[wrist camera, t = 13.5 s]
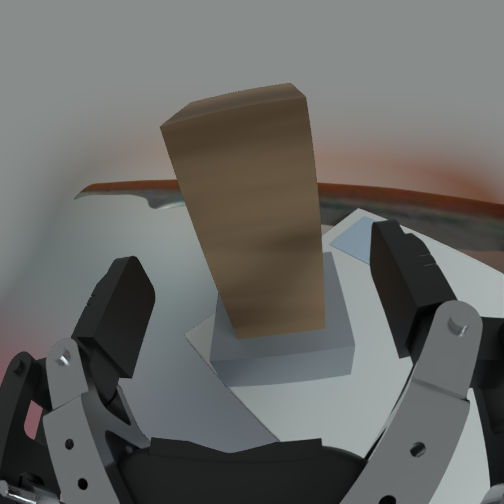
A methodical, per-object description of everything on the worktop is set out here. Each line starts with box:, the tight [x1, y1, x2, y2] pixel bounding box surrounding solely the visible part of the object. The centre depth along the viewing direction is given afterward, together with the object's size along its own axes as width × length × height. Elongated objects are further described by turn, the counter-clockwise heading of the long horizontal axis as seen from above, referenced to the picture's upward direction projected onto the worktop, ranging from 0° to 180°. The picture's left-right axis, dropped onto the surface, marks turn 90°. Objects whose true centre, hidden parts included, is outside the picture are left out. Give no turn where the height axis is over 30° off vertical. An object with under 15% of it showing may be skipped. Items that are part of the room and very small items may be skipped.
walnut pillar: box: [160, 83, 325, 339], centre depth 14 cm, size 5×5×12 cm
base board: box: [184, 208, 504, 504], centre depth 17 cm, size 22×24×4 cm
